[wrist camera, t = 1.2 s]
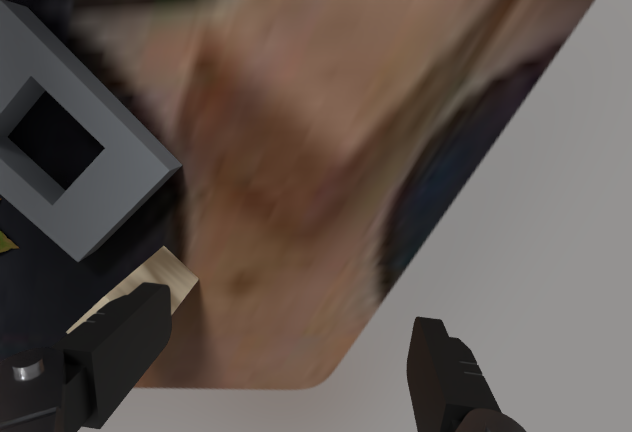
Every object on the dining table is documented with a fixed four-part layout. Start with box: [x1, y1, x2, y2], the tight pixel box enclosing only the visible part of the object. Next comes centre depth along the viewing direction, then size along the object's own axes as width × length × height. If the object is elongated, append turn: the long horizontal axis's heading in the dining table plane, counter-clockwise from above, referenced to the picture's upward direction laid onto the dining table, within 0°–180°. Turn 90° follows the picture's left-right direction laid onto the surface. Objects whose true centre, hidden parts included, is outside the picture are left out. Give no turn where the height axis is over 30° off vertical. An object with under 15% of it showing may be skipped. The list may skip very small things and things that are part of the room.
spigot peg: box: [66, 246, 199, 334], centre depth 30 cm, size 4×4×9 cm
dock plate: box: [0, 0, 182, 262], centre depth 29 cm, size 16×12×2 cm
